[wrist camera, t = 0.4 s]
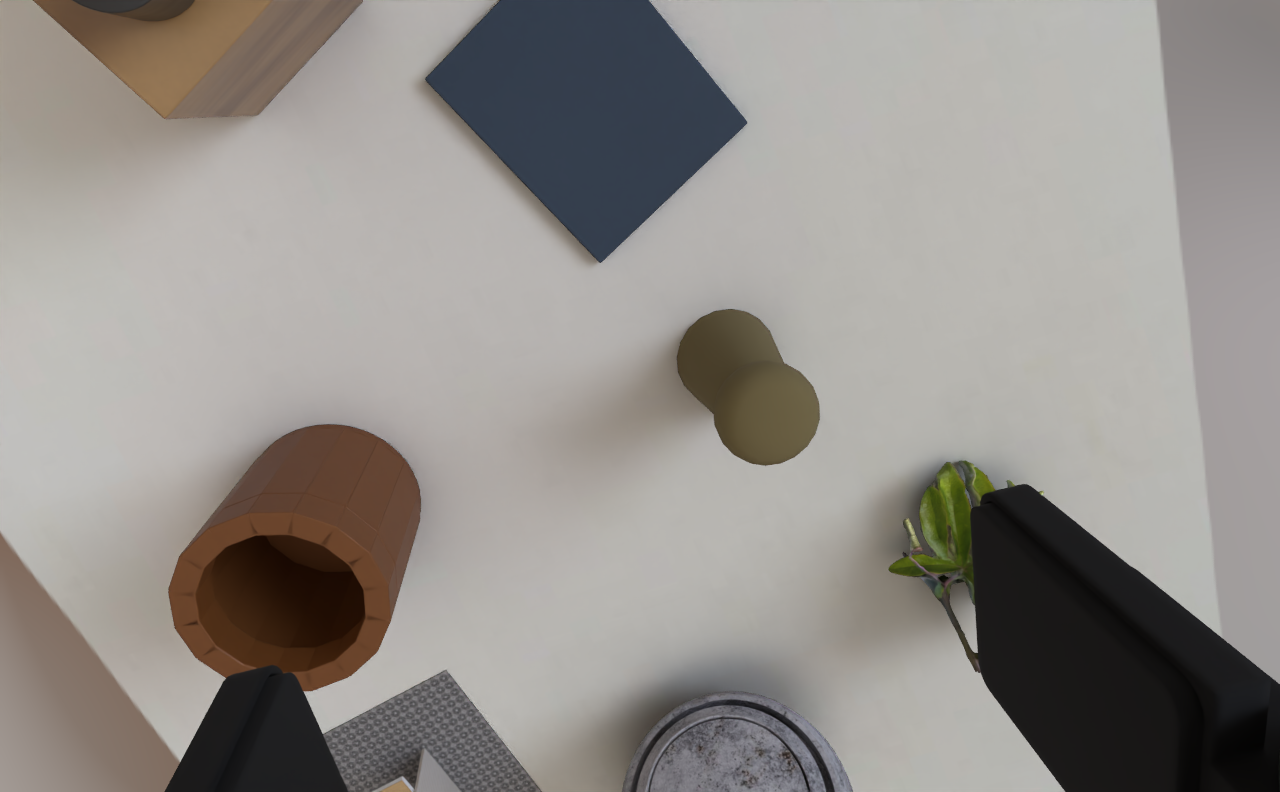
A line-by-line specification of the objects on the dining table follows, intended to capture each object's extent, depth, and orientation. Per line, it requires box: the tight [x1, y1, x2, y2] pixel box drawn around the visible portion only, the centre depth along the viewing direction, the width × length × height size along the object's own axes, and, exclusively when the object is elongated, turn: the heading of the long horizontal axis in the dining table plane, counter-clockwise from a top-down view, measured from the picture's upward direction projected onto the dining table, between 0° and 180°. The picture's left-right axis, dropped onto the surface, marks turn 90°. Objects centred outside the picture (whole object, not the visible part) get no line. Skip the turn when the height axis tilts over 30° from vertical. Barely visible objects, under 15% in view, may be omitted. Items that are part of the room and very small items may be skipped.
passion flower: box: [888, 461, 1044, 673], centre depth 52 cm, size 11×11×12 cm
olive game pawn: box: [677, 309, 820, 466], centre depth 44 cm, size 6×6×11 cm
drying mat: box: [425, 0, 747, 263], centre depth 43 cm, size 13×11×1 cm
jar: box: [168, 424, 421, 691], centre depth 44 cm, size 10×10×11 cm
